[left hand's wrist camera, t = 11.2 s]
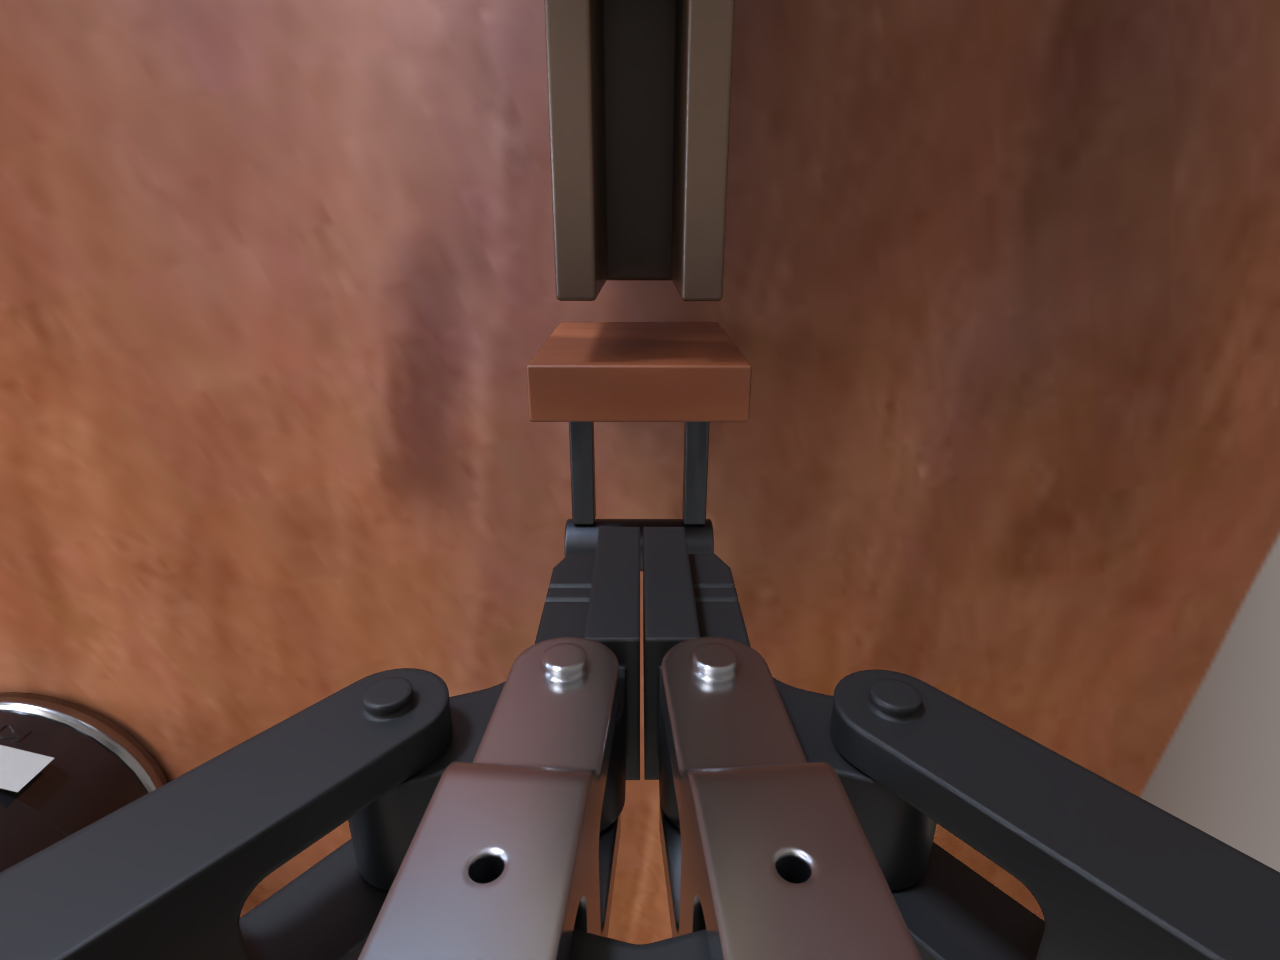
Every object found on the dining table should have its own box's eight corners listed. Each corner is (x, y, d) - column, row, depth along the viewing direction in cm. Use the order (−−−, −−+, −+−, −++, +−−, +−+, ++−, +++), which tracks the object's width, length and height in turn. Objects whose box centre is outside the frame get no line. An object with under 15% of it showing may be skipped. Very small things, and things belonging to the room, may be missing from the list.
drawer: (710, 524, 22) (736, 637, 16) (568, 524, 22) (541, 637, 16) (756, -635, 14) (850, -1323, 8) (523, -635, 14) (428, -1326, 7)
